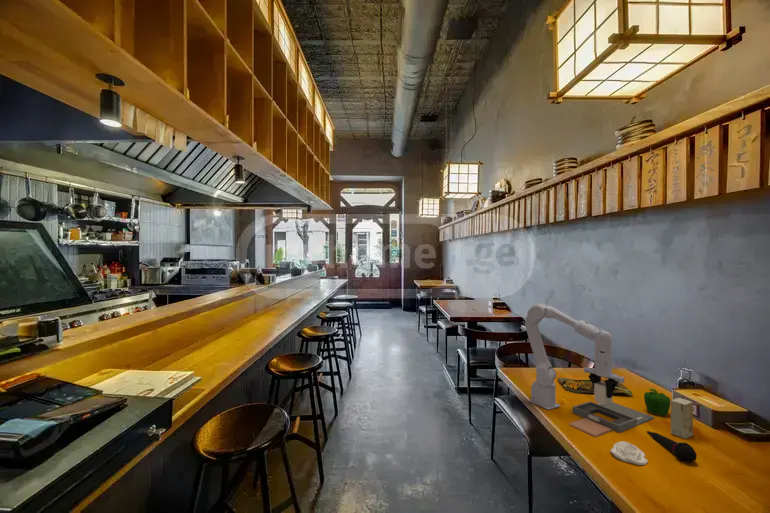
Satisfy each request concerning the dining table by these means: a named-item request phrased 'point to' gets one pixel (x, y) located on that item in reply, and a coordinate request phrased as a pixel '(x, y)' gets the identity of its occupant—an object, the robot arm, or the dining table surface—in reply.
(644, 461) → the rose
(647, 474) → the dining table surface
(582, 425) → the terracotta tile
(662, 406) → the bell pepper
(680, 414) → the skincare box
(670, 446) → the microphone
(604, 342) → the robot arm
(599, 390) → the block
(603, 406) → the equipment case
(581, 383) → the prepared meal
